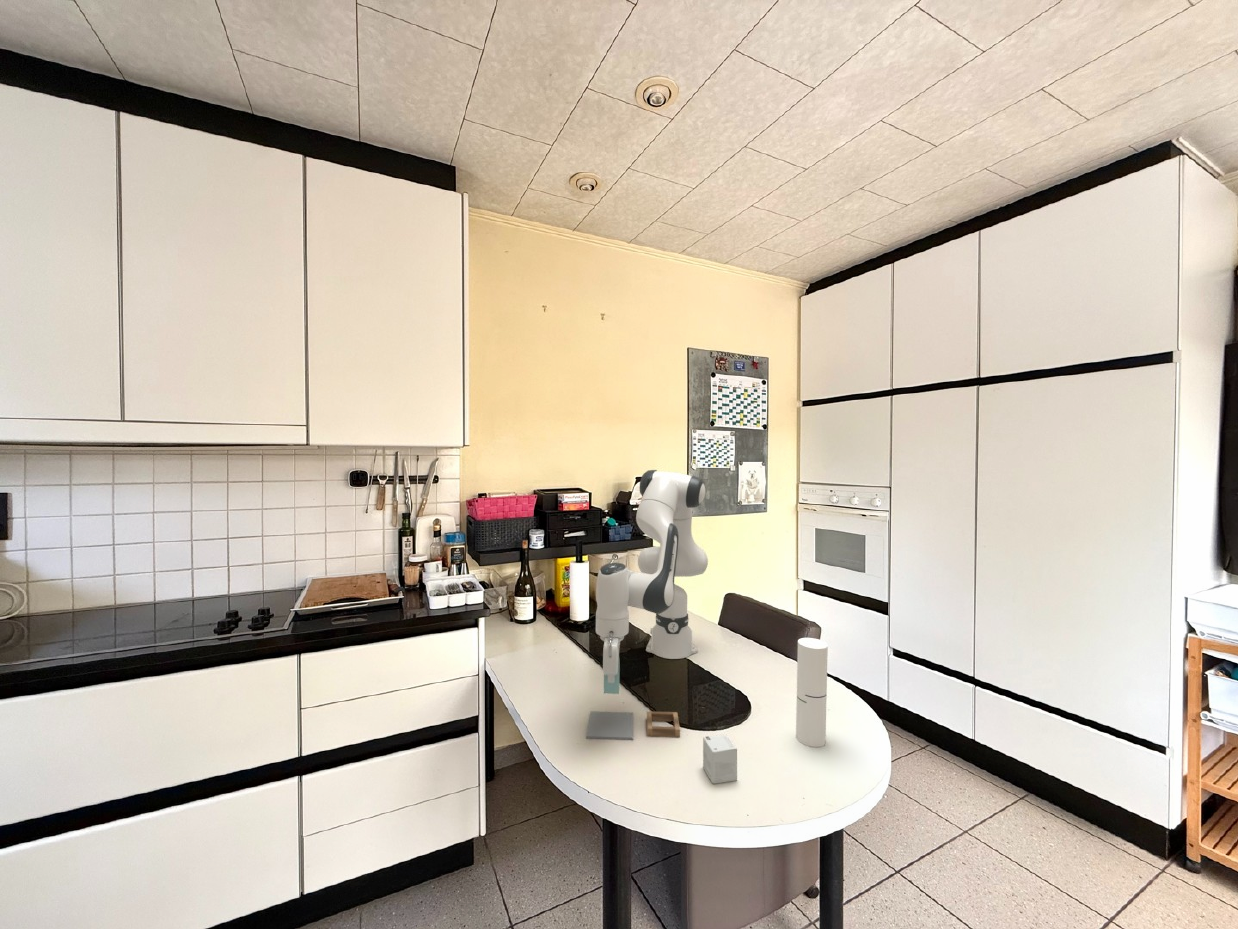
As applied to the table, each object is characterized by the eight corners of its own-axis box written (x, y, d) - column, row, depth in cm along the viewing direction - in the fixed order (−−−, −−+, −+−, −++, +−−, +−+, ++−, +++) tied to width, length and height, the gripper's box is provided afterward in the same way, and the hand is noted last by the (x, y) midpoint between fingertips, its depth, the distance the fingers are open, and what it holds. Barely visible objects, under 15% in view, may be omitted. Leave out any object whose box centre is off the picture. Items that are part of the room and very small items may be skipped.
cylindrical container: (822, 750, 121) (825, 651, 120) (793, 741, 124) (795, 644, 124) (827, 736, 127) (829, 641, 126) (799, 727, 130) (801, 635, 130)
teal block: (604, 686, 132) (604, 657, 132) (619, 686, 132) (619, 657, 132) (603, 693, 128) (604, 663, 128) (618, 693, 128) (619, 663, 128)
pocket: (646, 718, 134) (646, 711, 134) (677, 719, 134) (677, 712, 134) (647, 736, 126) (647, 728, 126) (679, 737, 126) (680, 729, 125)
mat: (590, 713, 137) (590, 711, 137) (633, 714, 136) (633, 712, 136) (586, 738, 125) (586, 736, 125) (632, 740, 124) (632, 737, 124)
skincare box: (737, 781, 109) (738, 748, 109) (712, 784, 108) (712, 752, 108) (726, 764, 115) (726, 733, 115) (702, 767, 114) (702, 736, 114)
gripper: (623, 640, 119) (622, 696, 119) (624, 613, 139) (624, 661, 140) (597, 640, 119) (597, 695, 119) (602, 613, 140) (602, 661, 140)
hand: (611, 677), depth 130 cm, fingers closed on teal block, 4 cm apart
